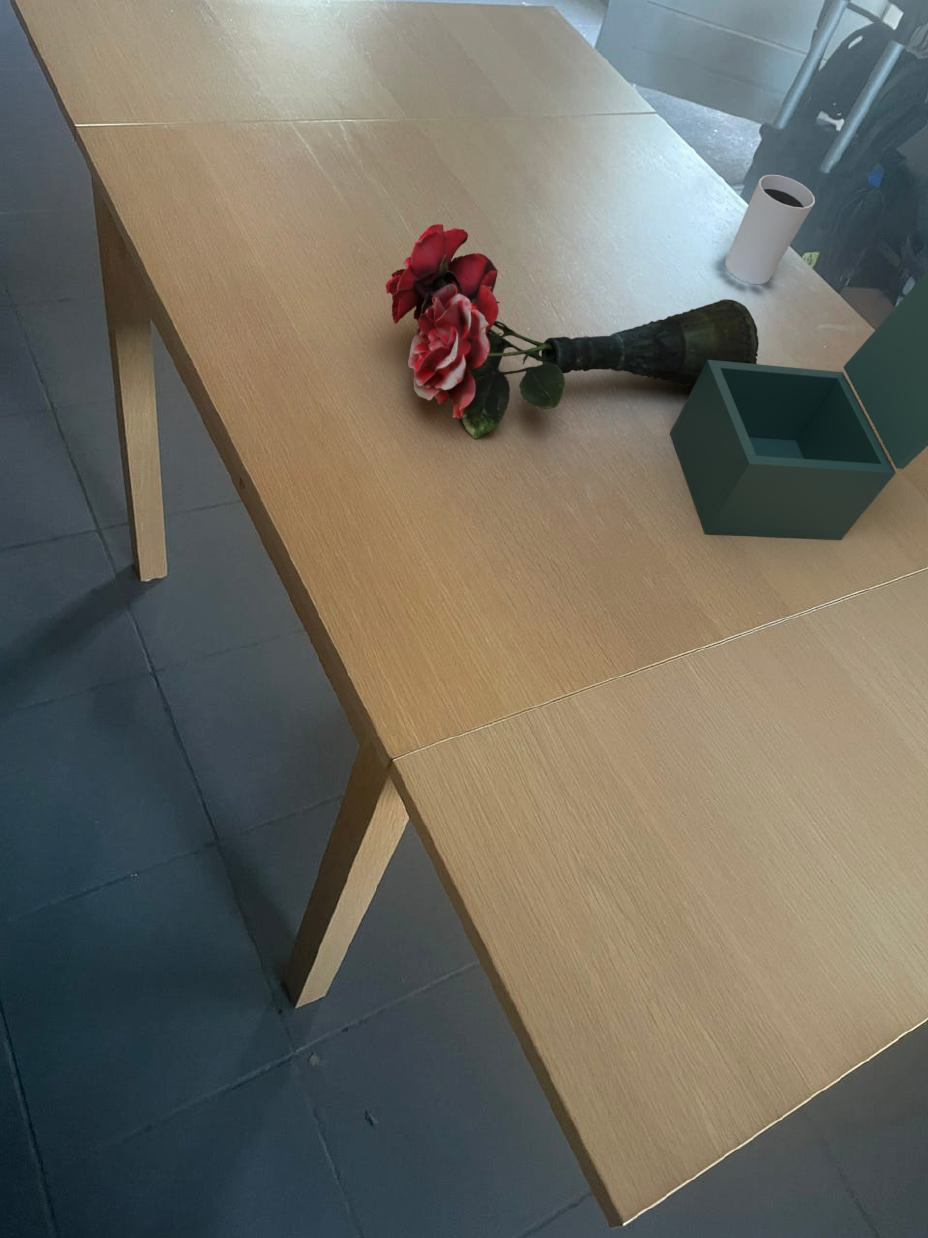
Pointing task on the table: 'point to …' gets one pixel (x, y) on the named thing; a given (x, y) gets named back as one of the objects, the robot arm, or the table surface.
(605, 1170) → the table surface
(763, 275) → the white cup
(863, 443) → the chest
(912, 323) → the lid
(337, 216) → the table surface
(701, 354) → the vase with roses
